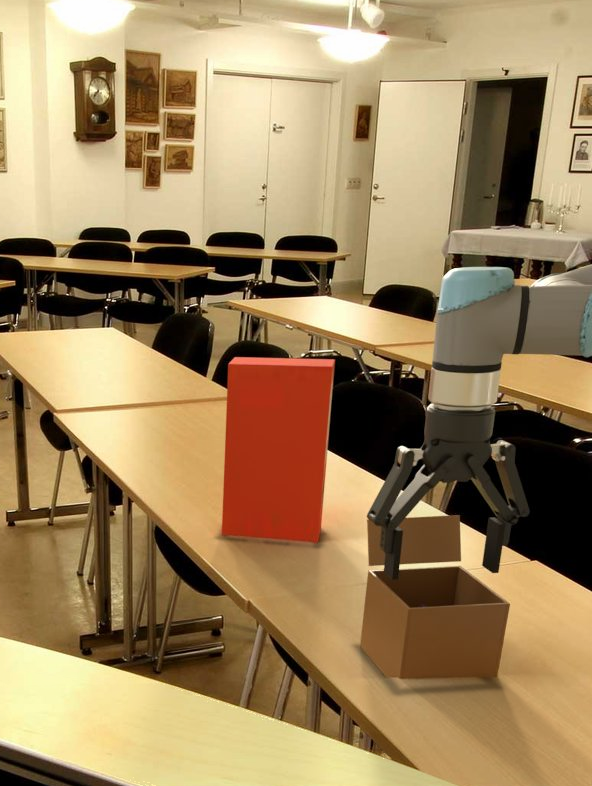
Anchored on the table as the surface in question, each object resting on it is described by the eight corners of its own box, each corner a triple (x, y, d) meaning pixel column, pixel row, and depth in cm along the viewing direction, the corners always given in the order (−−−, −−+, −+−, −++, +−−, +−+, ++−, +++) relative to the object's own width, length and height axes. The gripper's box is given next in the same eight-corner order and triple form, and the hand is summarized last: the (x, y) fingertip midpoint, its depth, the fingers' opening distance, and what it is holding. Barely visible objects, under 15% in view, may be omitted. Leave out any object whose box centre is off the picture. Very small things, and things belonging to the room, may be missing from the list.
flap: (369, 566, 122) (368, 565, 122) (461, 561, 123) (460, 561, 123) (367, 519, 122) (366, 519, 122) (459, 515, 122) (458, 515, 123)
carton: (359, 646, 126) (368, 570, 122) (449, 641, 127) (460, 565, 123) (397, 691, 115) (408, 609, 110) (495, 685, 115) (510, 603, 111)
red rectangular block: (228, 523, 176) (235, 356, 163) (320, 531, 170) (335, 358, 158) (221, 538, 169) (228, 364, 156) (317, 546, 163) (332, 367, 151)
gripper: (543, 393, 112) (517, 556, 120) (348, 404, 111) (336, 567, 119) (579, 405, 105) (550, 577, 113) (372, 416, 104) (357, 589, 112)
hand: (440, 572), depth 116 cm, fingers open, 12 cm apart
